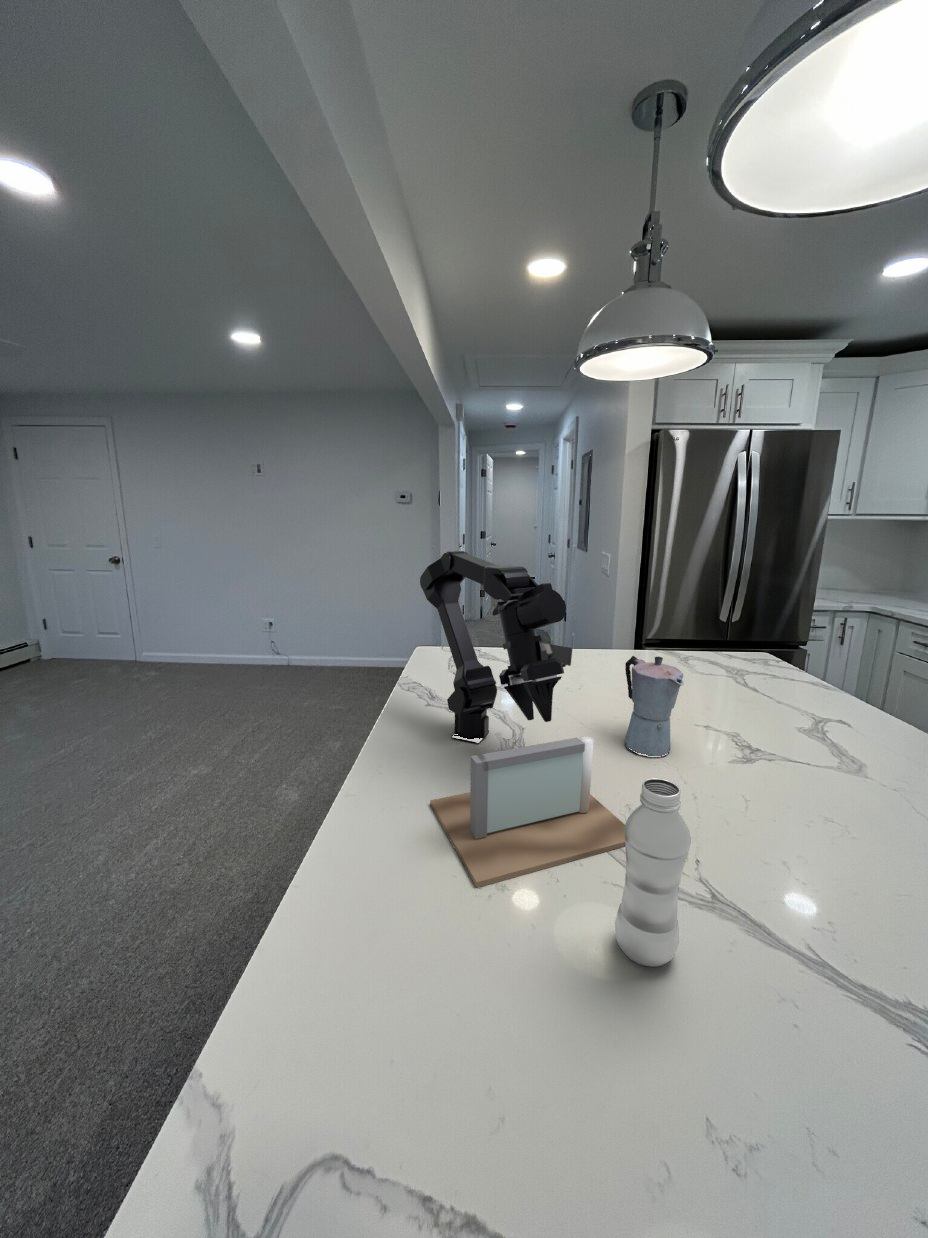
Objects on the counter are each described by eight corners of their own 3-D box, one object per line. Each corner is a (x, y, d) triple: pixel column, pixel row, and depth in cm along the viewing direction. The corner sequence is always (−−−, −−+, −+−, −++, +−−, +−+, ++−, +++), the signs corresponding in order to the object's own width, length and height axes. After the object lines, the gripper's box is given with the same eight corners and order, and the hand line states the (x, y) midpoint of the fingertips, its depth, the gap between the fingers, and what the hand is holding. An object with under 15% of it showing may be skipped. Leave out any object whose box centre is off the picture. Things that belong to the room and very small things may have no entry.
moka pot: (658, 769, 95) (668, 668, 91) (601, 737, 108) (607, 648, 104) (692, 759, 99) (703, 662, 95) (633, 729, 113) (641, 643, 108)
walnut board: (430, 804, 83) (430, 800, 83) (565, 776, 92) (565, 772, 92) (476, 888, 65) (476, 882, 65) (639, 842, 74) (639, 837, 74)
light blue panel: (583, 803, 82) (588, 735, 79) (591, 811, 80) (596, 741, 77) (469, 830, 75) (470, 756, 72) (475, 839, 73) (476, 763, 70)
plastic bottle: (604, 928, 59) (616, 772, 54) (660, 925, 59) (676, 770, 55) (626, 979, 52) (642, 806, 48) (688, 974, 53) (710, 803, 49)
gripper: (581, 617, 83) (604, 711, 81) (544, 633, 101) (561, 710, 99) (518, 629, 81) (540, 726, 79) (491, 643, 99) (508, 722, 97)
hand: (539, 720), depth 88 cm, fingers open, 9 cm apart
